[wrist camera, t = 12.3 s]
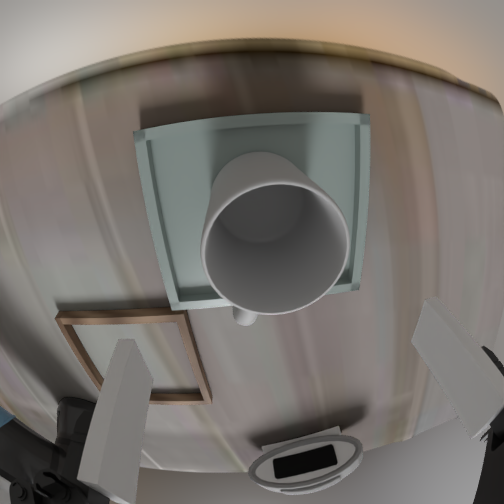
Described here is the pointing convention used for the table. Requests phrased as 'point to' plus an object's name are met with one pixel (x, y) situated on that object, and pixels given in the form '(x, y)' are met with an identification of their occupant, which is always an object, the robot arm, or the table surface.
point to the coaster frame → (138, 317)
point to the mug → (271, 237)
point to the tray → (222, 152)
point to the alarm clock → (307, 462)
